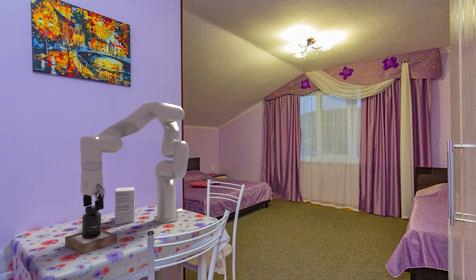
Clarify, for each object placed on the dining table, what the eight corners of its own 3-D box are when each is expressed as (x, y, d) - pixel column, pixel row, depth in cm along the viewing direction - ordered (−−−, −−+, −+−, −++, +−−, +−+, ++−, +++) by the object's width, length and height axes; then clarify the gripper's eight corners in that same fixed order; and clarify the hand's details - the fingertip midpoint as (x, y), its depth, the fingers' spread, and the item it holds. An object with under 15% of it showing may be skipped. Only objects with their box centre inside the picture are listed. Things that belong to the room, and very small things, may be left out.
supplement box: (116, 219, 139) (116, 187, 139) (134, 217, 142) (134, 186, 142) (114, 224, 130) (114, 191, 130) (134, 222, 133) (134, 189, 133)
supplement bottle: (92, 239, 102) (92, 209, 102) (77, 238, 103) (77, 208, 103) (104, 233, 109) (104, 205, 109) (90, 232, 110) (90, 204, 110)
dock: (100, 235, 116) (100, 227, 116) (117, 242, 108) (117, 233, 108) (65, 245, 104) (65, 236, 104) (81, 254, 96) (81, 245, 96)
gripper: (72, 166, 108) (74, 206, 108) (92, 169, 98) (94, 213, 98) (91, 164, 114) (92, 202, 115) (112, 166, 104) (113, 208, 105)
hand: (93, 207), depth 106 cm, fingers open, 9 cm apart
